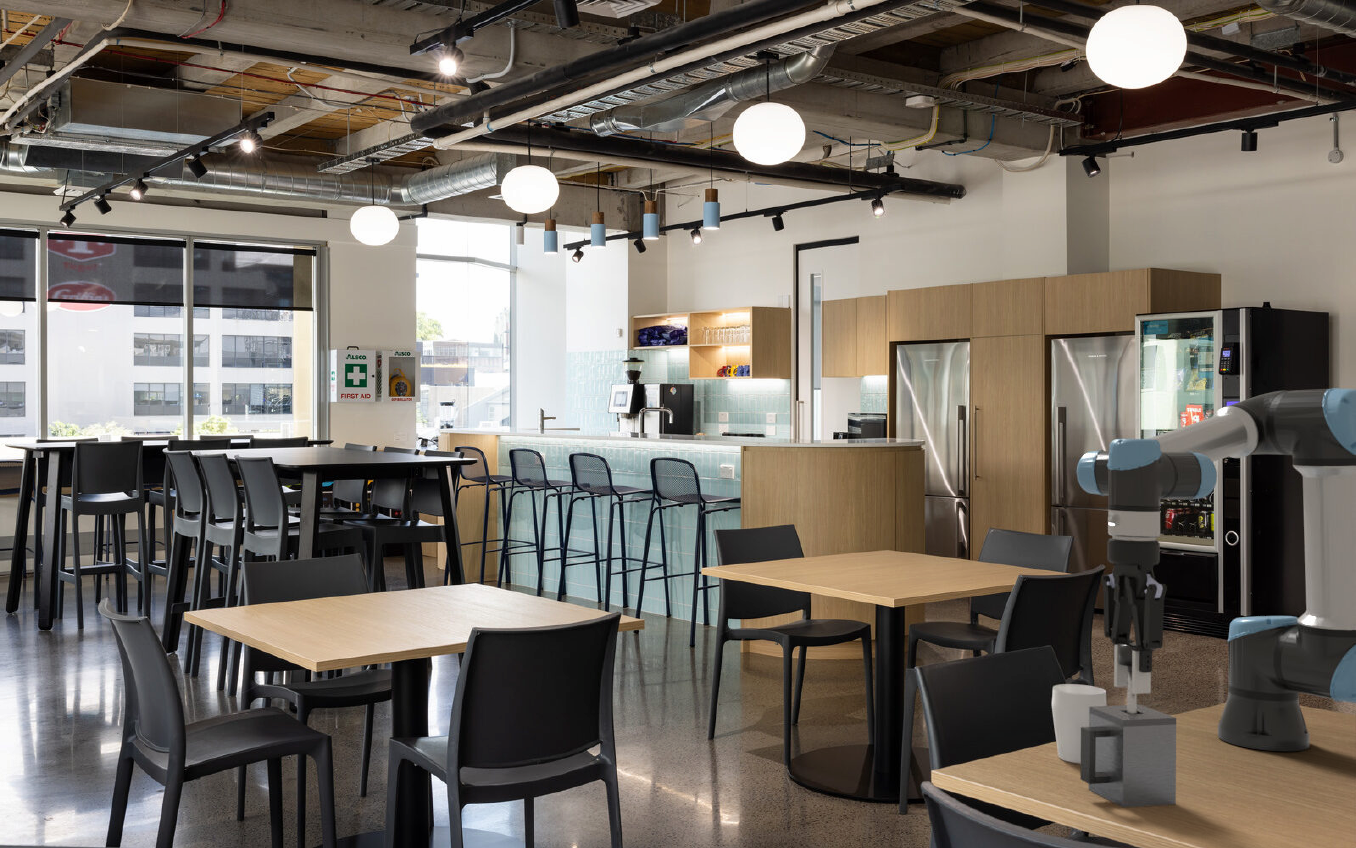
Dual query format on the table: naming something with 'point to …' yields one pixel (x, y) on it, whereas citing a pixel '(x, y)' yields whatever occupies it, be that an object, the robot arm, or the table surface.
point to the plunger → (1128, 674)
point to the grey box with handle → (1130, 755)
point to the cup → (1073, 716)
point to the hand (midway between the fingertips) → (1132, 689)
